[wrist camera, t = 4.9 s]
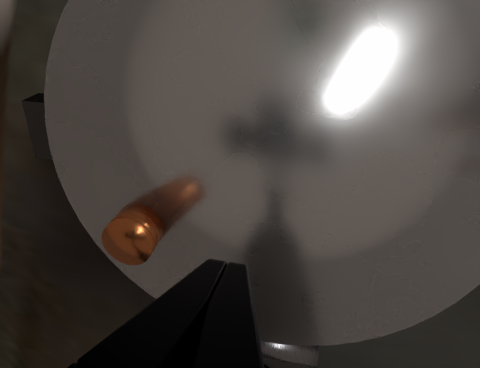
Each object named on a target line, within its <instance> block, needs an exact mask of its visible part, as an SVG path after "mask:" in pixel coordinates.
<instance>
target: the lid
mask: <svg viewBox="0 0 480 368" xmlns="http://www.w3.org/2000/svg"><path fill="white" fill-rule="evenodd" d="M44 106H45V125H46V130H47V136H48V141H49V147H50V152H51V155H52V158H53V162H54V165H55V168H56V172H57V175H58V178H59V180H60V182H61V185H62V187H63V189H64V192H65V194H66V196H67V199H68V201H69V202H70V204H71V206H72V208H73V210H74V211H75V213H76V215H77V217H78V218H79V220H80V222H81V223H82V225H83V226H84V228H85V229H86V230H87V232H88V233H89V235H90V236H91V238H92V239H93V240H94V242H95V243H96V244H97V245H98V247H99V248H100V249H101V250H102V251H103V252H104V254H105V255H106V256H107V257H108V258H109V259H110V260H111V261H112V262H113V263H114V264H115V265H116V266H117V267H118V268H119V269H120V270H121V271H122V272H123V273H124V274H125V275H126V276H127V277H128V278H129V279H131V280H132V281H133V282H134V283H136V284H137V285H138V286H139V287H141V288H142V289H143V290H144V291H146V292H147V293H148V294H150V295H151V296H153V297H154V298H156V299H157V298H158V297H160V296H161V295H162V294H163V293H165V292H166V291H167V290H169V289H170V288H171V287H172V286H174V285H175V284H176V283H178V282H179V281H180V280H182V279H183V278H184V277H185V276H187V275H188V274H189V273H191V272H192V271H193V270H194V269H196V268H197V267H198V266H200V265H201V264H202V263H204V262H205V261H206V260H208V259H217V260H223V261H226V262H227V263H229V262H235V263H241V264H246V265H247V266H248V271H249V277H250V283H251V289H252V295H253V301H254V307H255V314H256V320H257V326H258V332H259V338H260V344H261V350H262V356H263V357H266V358H271V359H275V360H280V361H285V362H290V363H295V364H300V365H305V366H309V367H314V368H316V366H317V360H318V352H319V345H336V344H345V343H353V342H359V341H364V340H368V339H373V338H377V337H382V336H385V335H388V334H391V333H394V332H397V331H400V330H403V329H406V328H409V327H411V326H413V325H415V324H417V323H420V322H422V321H424V320H426V319H428V318H431V317H433V316H434V315H436V314H438V313H439V312H441V311H443V310H444V309H446V308H448V307H449V306H451V305H453V304H454V303H456V302H458V301H459V300H460V299H461V298H463V297H464V296H465V295H467V294H468V293H469V292H470V291H472V290H473V289H474V288H476V287H477V286H478V285H479V284H480V0H68V2H67V4H66V5H65V7H64V9H63V12H62V14H61V17H60V20H59V22H58V25H57V28H56V31H55V33H54V36H53V39H52V43H51V48H50V53H49V57H48V62H47V66H46V77H45V90H44Z"/></svg>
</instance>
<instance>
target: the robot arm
mask: <svg viewBox="0 0 480 368" xmlns="http://www.w3.org/2000/svg"><path fill="white" fill-rule="evenodd" d="M67 368H269V367H267V366H266V365H264V363H263V356H262V350H261V344H260V338H259V332H258V326H257V320H256V314H255V307H254V301H253V295H252V289H251V283H250V277H249V271H248V266H247V265H246V264H241V263H235V262H229V263H227V262H226V261H223V260H217V259H208V260H206V261H205V262H204V263H202V264H201V265H200V266H198V267H197V268H196V269H194V270H193V271H192V272H191V273H189V274H188V275H187V276H185V277H184V278H183V279H182V280H180V281H179V282H178V283H176V284H175V285H174V286H172V287H171V288H170V289H169V290H167V291H166V292H165V293H163V294H162V295H161V296H160V297H158V298H157V299H156V300H154V301H153V302H152V303H150V304H149V305H148V306H147V307H145V308H144V309H143V310H141V311H140V312H139V313H137V314H136V315H135V316H134V317H132V318H131V319H130V320H128V321H127V322H126V323H125V324H123V325H122V326H121V327H119V328H118V329H117V330H115V331H114V332H113V333H112V334H110V335H109V336H108V337H106V338H105V339H104V340H103V341H101V342H100V343H99V344H97V345H96V346H95V347H93V348H92V349H91V350H90V351H88V352H87V353H86V354H84V355H83V356H82V357H81V358H79V359H78V360H77V363H73V364H71V365H70V366H69V367H67Z"/></svg>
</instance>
